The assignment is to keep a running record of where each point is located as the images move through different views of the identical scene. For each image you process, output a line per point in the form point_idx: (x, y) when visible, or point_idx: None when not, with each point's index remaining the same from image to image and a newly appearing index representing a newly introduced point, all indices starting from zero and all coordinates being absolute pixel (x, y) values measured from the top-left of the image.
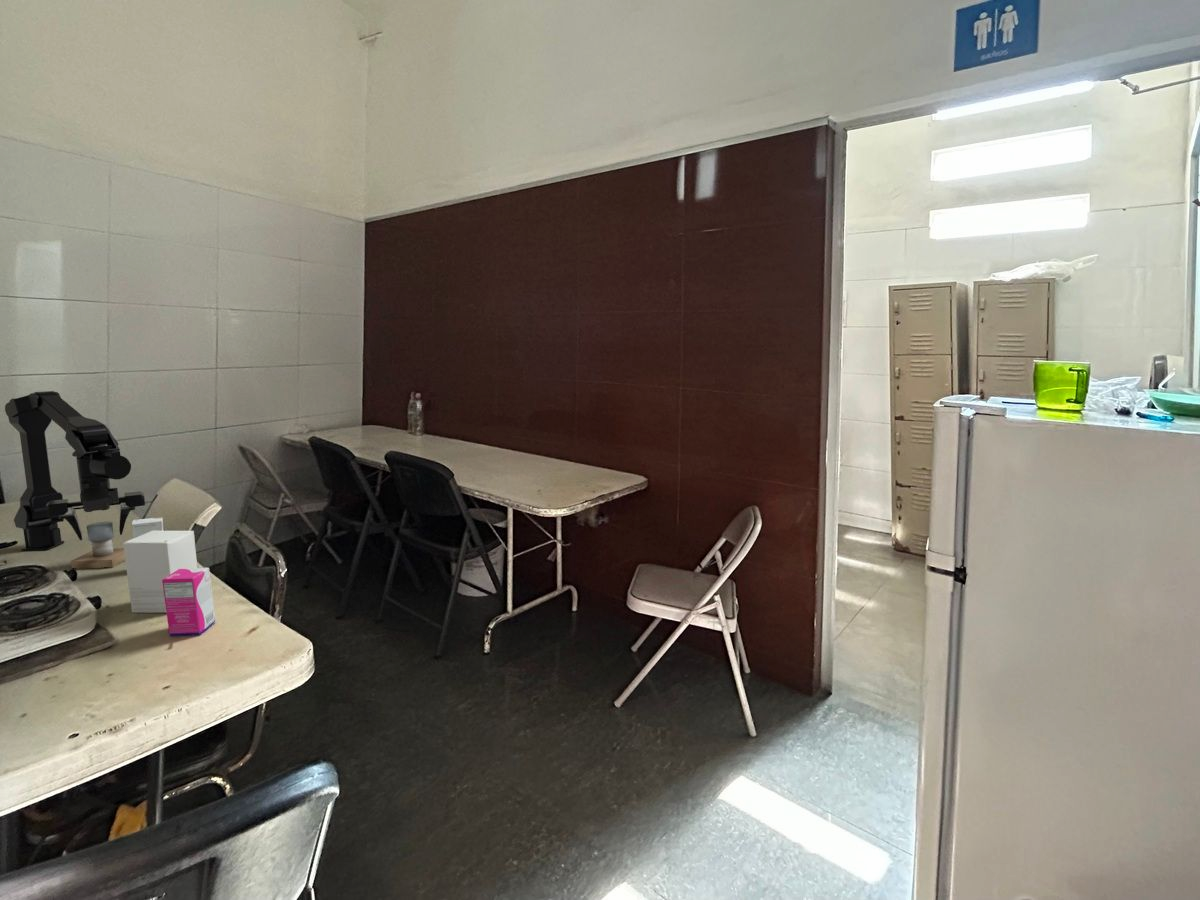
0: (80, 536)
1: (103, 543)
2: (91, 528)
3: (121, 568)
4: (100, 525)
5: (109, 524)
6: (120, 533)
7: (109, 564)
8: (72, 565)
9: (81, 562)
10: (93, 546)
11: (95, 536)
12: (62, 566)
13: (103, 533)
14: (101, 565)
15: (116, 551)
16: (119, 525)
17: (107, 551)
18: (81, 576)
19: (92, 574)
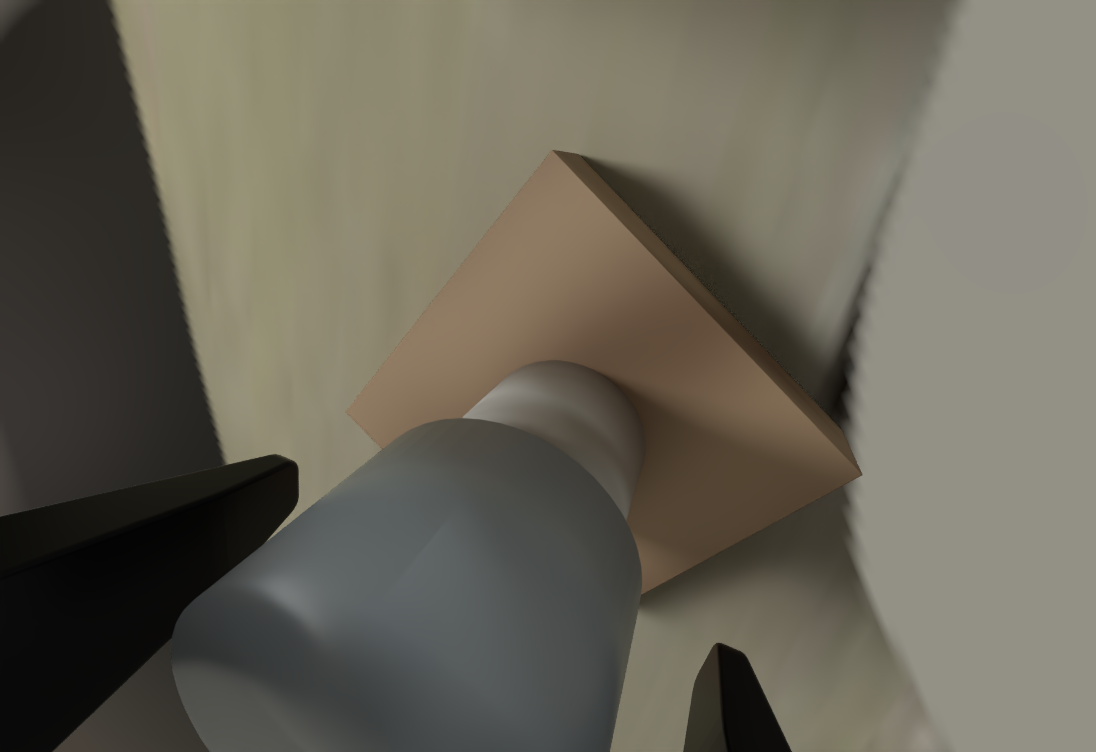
0: (741, 702)
1: (514, 426)
2: (537, 705)
3: (528, 52)
4: (346, 704)
5: (202, 616)
6: (273, 466)
7: (589, 177)
8: (842, 442)
9: (784, 385)
10: (619, 490)
11: (554, 510)
12: (855, 567)
13: (420, 480)
14: (648, 231)
15: None
16: (165, 577)
17: (527, 376)
18: (916, 51)
19: (799, 42)
